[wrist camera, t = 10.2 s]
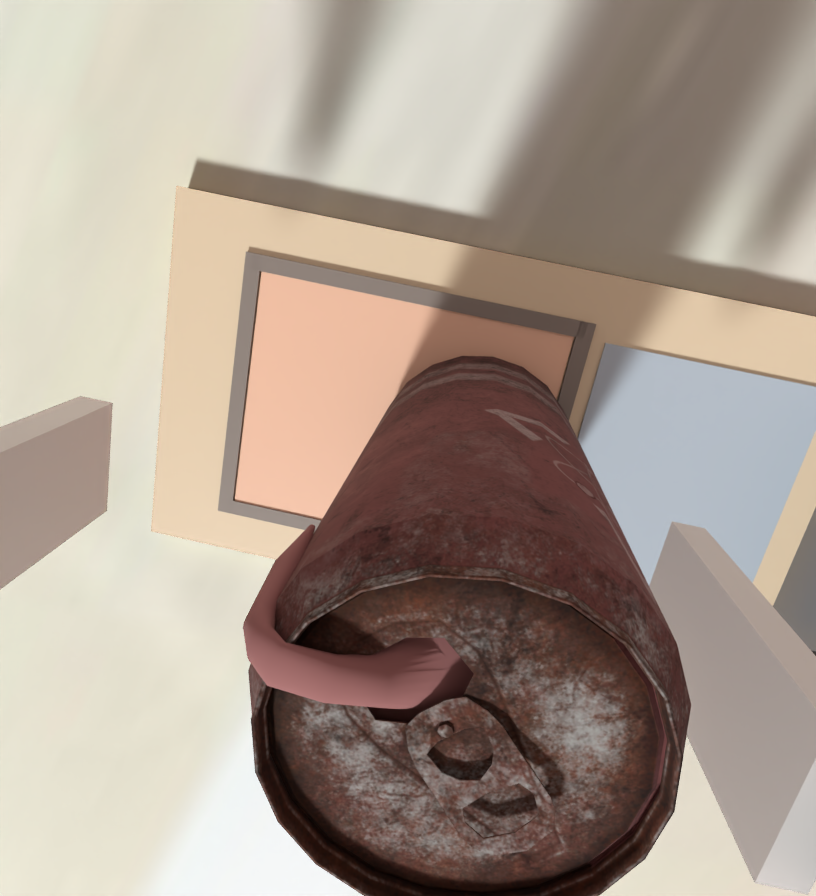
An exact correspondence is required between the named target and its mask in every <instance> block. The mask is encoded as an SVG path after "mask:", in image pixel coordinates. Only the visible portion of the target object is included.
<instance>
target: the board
mask: <svg viewBox="0 0 816 896" xmlns="http://www.w3.org/2000/svg"><path fill="white" fill-rule="evenodd" d="M460 356H491V357H496V358H499V359H502V360H504V361H507V362H510V363H513V364H516V365H519V366H522V367H524V368H525V369H526V370H527V371H529V372H530V373H531V374H533V375H534V376H535V377H537V378H538V379H539V380H540V381H542V382H543V383H544V384H546V385H547V386H548V388H549V389H550V391H551V392H552V394H553V395H554V397H555V398H556V400H557V401H558V403H559V404H560V406H561V407H562V409H563V410H564V412H565V414H566V416H567V418H568V420H569V422H570V424H571V427H572V429H573V431H574V433H575V435H576V437H577V439H578V441H579V443H580V445H581V447H582V449H583V451H584V453H585V455H586V457H587V459H588V462H589V464H590V466H591V468H592V470H593V472H594V474H595V476H596V478H597V480H598V482H599V484H600V486H601V488H602V490H603V492H604V494H605V497H606V499H607V501H608V503H609V505H610V507H611V509H612V511H613V513H614V515H615V517H616V519H617V521H618V523H619V525H620V527H621V529H622V532H623V534H624V536H625V538H626V540H627V542H628V544H629V546H630V548H631V550H632V552H633V554H634V556H635V558H636V560H637V562H638V564H639V566H640V569H641V571H642V573H643V575H644V577H645V579H646V581H647V583H648V585H650V582H651V579H652V577H653V574H654V571H655V568H656V565H657V562H658V559H659V557H660V554H661V551H662V548H663V545H664V542H665V540H666V537H667V534H668V531H669V528H670V525H671V523H672V521H673V522H677V523H682V524H687V525H692V526H696V527H701V528H705V529H706V530H707V531H708V532H709V533H710V535H711V536H712V537H713V538H714V539H715V540H716V541H717V543H718V544H719V545H720V546H721V547H722V548H723V550H724V551H725V552H726V553H727V554H728V555H729V556H730V558H731V559H732V560H733V561H734V562H735V563H736V565H737V566H738V567H739V568H740V569H741V570H742V572H743V573H744V574H745V575H746V576H747V577H748V578H749V580H750V581H751V582H752V583H753V584H754V585H755V587H756V588H757V589H758V590H759V591H760V592H761V593H762V595H763V596H764V597H765V598H766V599H767V600H768V602H769V603H770V604H771V605H772V606H773V605H774V603H775V600H776V598H777V596H778V593H779V591H780V589H781V586H782V584H783V582H784V579H785V577H786V575H787V572H788V570H789V568H790V565H791V563H792V561H793V558H794V556H795V554H796V551H797V549H798V547H799V545H800V542H801V540H802V538H803V535H804V533H805V531H806V528H807V526H808V524H809V521H810V519H811V517H812V514H813V512H814V510H815V507H816V317H815V316H810V315H805V314H800V313H795V312H791V311H786V310H781V309H776V308H771V307H766V306H761V305H756V304H751V303H747V302H742V301H737V300H732V299H727V298H722V297H717V296H712V295H708V294H703V293H698V292H693V291H688V290H683V289H678V288H673V287H668V286H664V285H659V284H654V283H649V282H644V281H639V280H634V279H629V278H625V277H620V276H615V275H610V274H605V273H600V272H595V271H590V270H585V269H581V268H576V267H571V266H566V265H561V264H556V263H551V262H546V261H541V260H537V259H532V258H527V257H522V256H517V255H512V254H507V253H502V252H498V251H493V250H488V249H483V248H478V247H473V246H468V245H463V244H458V243H454V242H449V241H444V240H439V239H434V238H429V237H424V236H419V235H414V234H410V233H405V232H400V231H395V230H390V229H385V228H380V227H375V226H371V225H366V224H361V223H356V222H351V221H346V220H341V219H336V218H331V217H327V216H322V215H317V214H312V213H307V212H302V211H297V210H292V209H287V208H283V207H278V206H273V205H268V204H263V203H258V202H253V201H248V200H244V199H239V198H234V197H229V196H224V195H219V194H214V193H209V192H204V191H200V190H195V189H190V188H185V187H180V186H176V198H175V212H174V225H173V239H172V252H171V266H170V280H169V293H168V307H167V321H166V334H165V348H164V361H163V375H162V389H161V402H160V416H159V429H158V443H157V457H156V470H155V484H154V497H153V511H152V525H151V531H152V532H156V533H161V534H165V535H170V536H174V537H179V538H183V539H187V540H192V541H196V542H201V543H205V544H210V545H214V546H218V547H223V548H227V549H232V550H236V551H241V552H245V553H250V554H254V555H258V556H263V557H267V558H272V559H277V558H278V557H279V556H280V555H281V554H282V553H283V552H284V551H285V550H286V549H287V548H288V547H289V546H290V545H291V544H292V543H293V542H294V541H295V540H296V539H297V538H298V537H299V536H300V535H301V534H302V533H303V532H304V531H305V529H306V528H307V527H308V526H309V525H311V524H313V525H314V526H315V531H316V529H317V527H318V525H319V524H320V522H321V520H322V519H323V517H324V515H325V514H326V512H327V510H328V509H329V507H330V505H331V504H332V502H333V500H334V498H335V497H336V495H337V493H338V492H339V490H340V488H341V487H342V485H343V483H344V482H345V480H346V478H347V477H348V475H349V473H350V471H351V470H352V468H353V466H354V465H355V463H356V461H357V460H358V458H359V456H360V455H361V453H362V451H363V450H364V448H365V446H366V444H367V443H368V441H369V439H370V438H371V436H372V434H373V433H374V431H375V429H376V428H377V426H378V424H379V423H380V421H381V419H382V417H383V416H384V414H385V412H386V411H387V409H388V407H389V406H390V404H391V403H392V402H393V400H394V399H395V398H396V396H397V395H398V394H399V392H400V391H401V390H402V388H403V387H404V386H405V384H406V383H407V382H408V381H409V380H411V379H412V378H414V377H415V376H417V375H418V374H419V373H421V372H422V371H424V370H425V369H427V368H428V367H430V366H431V365H433V364H436V363H439V362H443V361H446V360H450V359H453V358H456V357H460ZM315 531H314V532H315Z"/></svg>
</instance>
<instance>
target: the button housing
mask: <svg viewBox="0 0 816 896" xmlns="http://www.w3.org/2000/svg"><path fill="white" fill-rule="evenodd" d="M773 607H774V608H775V610H776V611H777V612H778V613H779V614H780V615H781V617H782V618H783V619H784V620H785V621H786V622H787V623H788V625H789V626H790V627H791V628H792V629H793V630H794V632H795V633H796V634H797V635H798V636H799V637H800V638H801V640H802V641H803V642H804V643H805V644H806V645H807V647H808V648H809V649H810V650H811V651H816V507H815V510H814V512H813V514H812V517H811V519H810V521H809V524H808V526H807V528H806V531H805V533H804V535H803V538H802V540H801V542H800V545H799V547H798V549H797V551H796V554H795V556H794V558H793V561H792V563H791V565H790V568H789V570H788V572H787V575H786V577H785V579H784V582H783V584H782V586H781V589H780V591H779V593H778V596H777V598H776V600H775V603H774V605H773Z"/></svg>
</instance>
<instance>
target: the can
mask: <svg viewBox="0 0 816 896" xmlns="http://www.w3.org/2000/svg"><path fill="white" fill-rule="evenodd" d="M314 531H315V526H314V525H313V524H311V525H309V526H308V527H307V528H306V529H305V531H304V532H303V533H302V534H301V535H300V536H299V537H298V538H297V539H296V540H295V541H294V542H293V543H292V544H291V545H290V546H289V547H288V548H287V549H286V550H285V551H284V552H283V553H282V554H281V555H280V556H279V557H278V558H277V559H276V560H275V562H274V564H273V566H272V568H271V570H270V572H269V574H268V576H267V578H266V580H265V582H264V584H263V586H262V588H261V590H260V592H259V594H258V596H257V597H256V599H255V601H254V603H253V605H252V607H251V609H250V611H249V613H248V615H247V617H246V619H245V621H244V626H243V629H244V636H245V643H246V650H247V656H248V659H249V661H250V662H251V664H250V668H249V683H250V695H251V707H252V718H251V725H252V737H253V749H254V762H255V773H256V775H257V777H258V779H259V781H260V784H261V786H262V788H263V790H264V792H265V794H266V797H267V799H268V801H269V803H270V805H271V808H272V810H273V812H274V814H275V816H276V819H277V821H278V822H279V823H280V825H281V826H282V827H283V828H284V829H285V830H286V831H287V832H288V834H289V835H290V836H291V837H292V838H293V839H294V840H295V841H296V842H297V844H298V845H299V846H300V847H301V848H302V849H303V850H304V851H305V853H306V854H307V855H308V856H309V857H310V858H311V859H312V860H313V862H314V863H315V864H316V865H318V866H319V867H321V868H323V869H324V870H326V871H327V872H329V873H330V874H332V875H333V876H335V877H336V878H338V879H339V880H341V881H342V882H344V883H345V884H347V885H348V886H350V887H352V888H353V889H355V890H356V891H358V892H359V893H361V894H362V895H364V896H598V895H600V894H602V893H603V892H604V891H605V890H607V889H608V888H609V887H610V886H612V885H613V884H614V883H615V882H617V881H618V880H619V879H620V878H622V877H623V876H624V875H626V874H627V873H628V872H629V871H631V870H632V869H633V868H634V867H636V866H637V865H638V864H639V863H641V862H642V861H643V860H644V859H645V858H646V856H647V855H648V853H649V852H650V850H651V848H652V847H653V845H654V844H655V842H656V840H657V839H658V837H659V835H660V834H661V832H662V831H663V829H664V827H665V826H666V824H667V822H668V821H669V819H670V818H671V816H672V814H673V813H674V810H675V804H676V797H677V791H678V785H679V779H680V773H681V767H682V761H683V753H684V747H685V741H686V735H687V729H688V723H689V716H690V710H691V701H690V697H689V693H688V688H687V684H686V680H685V676H684V671H683V667H682V663H681V658H680V654H679V650H678V646H677V643H676V641H675V639H674V636H673V634H672V632H671V630H670V628H669V626H668V624H667V622H666V620H665V618H664V616H663V614H662V612H661V610H660V608H659V606H658V604H657V601H656V599H655V597H654V595H653V593H652V591H651V589H650V587H649V585H648V583H647V581H646V579H645V577H644V575H643V573H642V571H641V569H640V566H639V564H638V562H637V560H636V558H635V556H634V554H633V552H632V550H631V548H630V546H629V544H628V542H627V540H626V538H625V536H624V534H623V532H622V529H621V527H620V525H619V523H618V521H617V519H616V517H615V515H614V513H613V511H612V509H611V507H610V505H609V503H608V501H607V499H606V497H605V494H604V492H603V490H602V488H601V486H600V484H599V482H598V480H597V478H596V476H595V474H594V472H593V470H592V468H591V466H590V464H589V462H588V459H587V457H586V455H585V453H584V451H583V449H582V447H581V445H580V443H579V441H578V439H577V437H576V435H575V433H574V431H573V429H572V427H571V424H570V422H569V420H568V418H567V416H566V414H565V412H564V410H563V409H562V407H561V406H560V404H559V403H558V401H557V400H556V398H555V397H554V395H553V394H552V392H551V391H550V389H549V388H548V386H547V385H546V384H544V383H543V382H542V381H540V380H539V379H538V378H537V377H535V376H534V375H533V374H531V373H530V372H529V371H527V370H526V369H525V368H524V367H522V366H519V365H516V364H513V363H510V362H507V361H504V360H502V359H499V358H496V357H491V356H460V357H456V358H453V359H450V360H446V361H443V362H439V363H436V364H433V365H431V366H430V367H428V368H427V369H425V370H424V371H422V372H421V373H419V374H418V375H417V376H415V377H414V378H412V379H411V380H409V381H408V382H407V383H406V384H405V386H404V387H403V388H402V390H401V391H400V392H399V394H398V395H397V396H396V398H395V399H394V400H393V402H392V403H391V404H390V406H389V407H388V409H387V411H386V412H385V414H384V416H383V417H382V419H381V421H380V423H379V424H378V426H377V428H376V429H375V431H374V433H373V434H372V436H371V438H370V439H369V441H368V443H367V444H366V446H365V448H364V450H363V451H362V453H361V455H360V456H359V458H358V460H357V461H356V463H355V465H354V466H353V468H352V470H351V471H350V473H349V475H348V477H347V478H346V480H345V482H344V483H343V485H342V487H341V488H340V490H339V492H338V493H337V495H336V497H335V498H334V500H333V502H332V504H331V505H330V507H329V509H328V510H327V512H326V514H325V515H324V517H323V519H322V520H321V522H320V524H319V525H318V527H317V529H316V531H315V532H314Z"/></svg>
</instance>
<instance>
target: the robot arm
mask: <svg viewBox="0 0 816 896" xmlns="http://www.w3.org/2000/svg"><path fill="white" fill-rule="evenodd" d="M112 404H113V403H110V402H106V401H101V400H96V399H91V398H87V397H82V396H80V397H77V398H74V399H72V400H69V401H67V402H64V403H62V404H59V405H56V406H54V407H51V408H49V409H46V410H44V411H41V412H38V413H36V414H33V415H31V416H28V417H26V418H23V419H20V420H18V421H15V422H13V423H10V424H8V425H5V426H2V427H0V589H1V588H3V587H4V586H5V585H7V584H8V583H9V582H11V581H12V580H14V579H15V578H16V577H18V576H19V575H20V574H22V573H23V572H24V571H26V570H27V569H28V568H30V567H31V566H32V565H34V564H35V563H37V562H38V561H39V560H41V559H42V558H43V557H45V556H46V555H47V554H49V553H50V552H51V551H53V550H54V549H56V548H57V547H58V546H60V545H61V544H62V543H64V542H65V541H66V540H68V539H69V538H70V537H72V536H73V535H74V534H76V533H77V532H79V531H80V530H81V529H83V528H84V527H85V526H87V525H88V524H89V523H91V522H92V521H93V520H95V519H96V518H97V517H99V516H100V515H102V514H103V513H104V512H106V511H107V497H108V478H109V460H110V441H111V422H112ZM649 587H650V589H651V591H652V593H653V595H654V597H655V599H656V601H657V604H658V606H659V608H660V610H661V612H662V614H663V616H664V618H665V620H666V622H667V624H668V626H669V628H670V630H671V632H672V634H673V636H674V639H675V641H676V643H677V646H678V650H679V654H680V658H681V663H682V667H683V671H684V676H685V680H686V684H687V688H688V693H689V697H690V701H691V710H690V716H689V723H688V729H687V737H688V739H689V741H690V743H691V745H692V748H693V750H694V752H695V754H696V756H697V758H698V761H699V763H700V765H701V767H702V769H703V771H704V774H705V776H706V778H707V780H708V782H709V784H710V787H711V789H712V791H713V793H714V795H715V797H716V800H717V802H718V804H719V806H720V808H721V811H722V813H723V815H724V817H725V819H726V821H727V824H728V826H729V828H730V830H731V832H732V834H733V837H734V839H735V841H736V843H737V845H738V847H739V850H740V852H741V854H742V856H743V858H744V860H745V863H746V865H747V867H748V869H749V871H750V873H751V876H752V878H753V880H754V882H755V883H758V884H762V885H767V886H771V887H776V888H780V889H785V890H789V891H794V892H798V893H803V894H807V895H808V894H809V892H810V890H811V888H812V886H813V884H814V882H815V880H816V651H811V650H810V649H809V648H808V647H807V645H806V644H805V643H804V642H803V641H802V640H801V638H800V637H799V636H798V635H797V634H796V633H795V632H794V630H793V629H792V628H791V627H790V626H789V625H788V623H787V622H786V621H785V620H784V619H783V618H782V617H781V615H780V614H779V613H778V612H777V611H776V610H775V608H774V607H773V606H772V605H771V604H770V603H769V602H768V600H767V599H766V598H765V597H764V596H763V595H762V593H761V592H760V591H759V590H758V589H757V588H756V587H755V585H754V584H753V583H752V582H751V581H750V580H749V578H748V577H747V576H746V575H745V574H744V573H743V572H742V570H741V569H740V568H739V567H738V566H737V565H736V563H735V562H734V561H733V560H732V559H731V558H730V556H729V555H728V554H727V553H726V552H725V551H724V550H723V548H722V547H721V546H720V545H719V544H718V543H717V541H716V540H715V539H714V538H713V537H712V536H711V535H710V533H709V532H708V531H707V530H706V529H705V528H701V527H696V526H692V525H687V524H682V523H677V522H673V521H672V523H671V525H670V528H669V531H668V534H667V537H666V540H665V542H664V545H663V548H662V551H661V554H660V557H659V559H658V562H657V565H656V568H655V571H654V574H653V577H652V579H651V582H650V585H649Z"/></svg>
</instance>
